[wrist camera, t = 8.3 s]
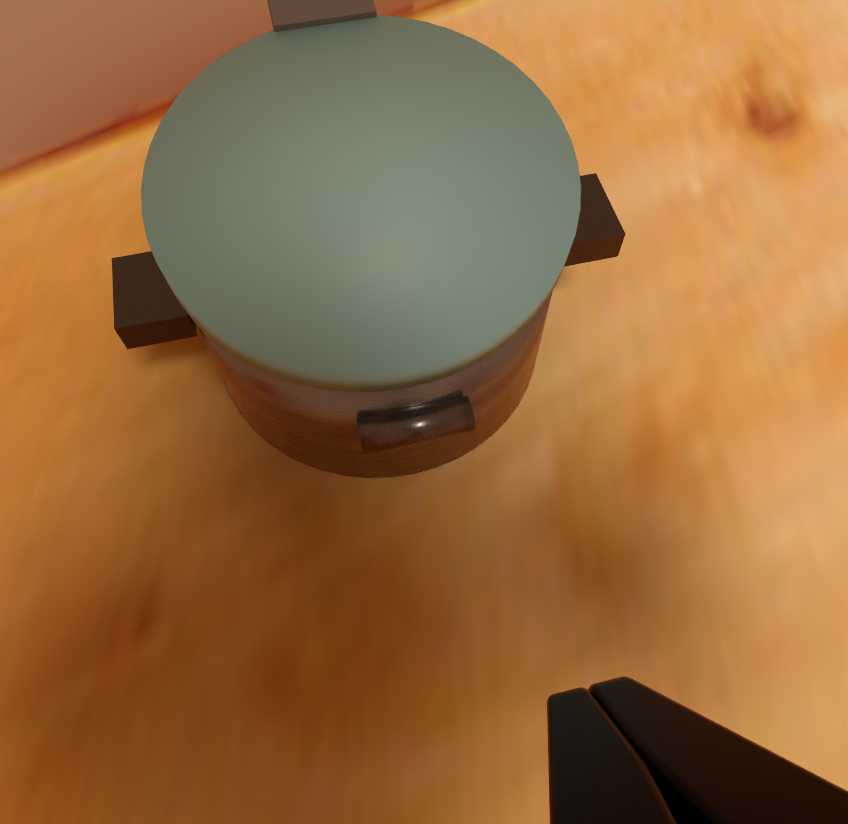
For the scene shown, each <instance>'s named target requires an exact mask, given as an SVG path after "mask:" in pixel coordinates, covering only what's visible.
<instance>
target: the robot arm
mask: <svg viewBox="0 0 848 824" xmlns="http://www.w3.org/2000/svg"><path fill="white" fill-rule="evenodd" d="M547 719H548V763H549V806H550V824H848V791H846V790H844V789H842V788H841V787H839V786H837V785H835V784H833V783H831V782H829V781H827V780H825V779H823V778H821V777H819V776H818V775H816V774H814V773H812V772H810V771H808V770H806V769H804V768H802V767H800V766H798V765H796V764H795V763H793V762H791V761H789V760H787V759H785V758H783V757H781V756H779V755H777V754H775V753H773V752H772V751H770V750H768V749H766V748H764V747H762V746H760V745H758V744H756V743H754V742H752V741H750V740H748V739H747V738H745V737H743V736H741V735H739V734H737V733H735V732H733V731H731V730H729V729H727V728H725V727H724V726H722V725H720V724H718V723H716V722H714V721H712V720H710V719H708V718H706V717H704V716H702V715H701V714H699V713H697V712H695V711H693V710H691V709H689V708H687V707H685V706H683V705H681V704H679V703H677V702H676V701H674V700H672V699H670V698H668V697H666V696H664V695H662V694H660V693H658V692H656V691H654V690H653V689H651V688H649V687H647V686H645V685H643V684H641V683H639V682H637V681H635V680H633V679H631V678H628V677H619V678H615V679H611V680H607V681H603V682H599V683H595V684H593V685H591V686H590V687H589V689H588V690H587V689H585V688H576V689H572V690H568V691H564V692H560V693H556V694H552V695H550V697H549V698H548V700H547Z"/></svg>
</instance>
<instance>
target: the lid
mask: <svg viewBox="0 0 848 824" xmlns="http://www.w3.org/2000/svg"><path fill="white" fill-rule="evenodd" d="M268 5H269V10H270V14H271V19H272V24H273V28H274V30H272V31H270V32H267V33H265V34H262V35H260V36H258V37H255V38H253V39H251V40H249V41H247V42H245V43H243V44H242V45H240V46H238V47H236V48H234V49H232V50H231V51H229V52H227V53H226V54H225V55H223V56H222V57H220V58H219V59H217V60H216V61H215V62H213V63H212V64H210V65H209V66H208V67H207V68H206V69H204V70H203V71H202V72H201V73H200V74H199V75H198V76H197V77H196V78H194V79H193V80H192V81H191V82H190V83H189V84H188V85H187V87H186V88H185V89H184V90H183V91H182V92H181V94H180V95H179V96H178V97H177V98H176V99H175V101H174V102H173V103H172V105H171V107H170V108H169V110H168V111H167V113H166V114H165V116H164V117H163V119H162V120H161V122H160V124H159V127H158V129H157V131H156V133H155V135H154V137H153V140H152V142H151V144H150V148H149V151H148V155H147V158H146V162H145V165H144V172H143V180H142V188H141V197H142V216H143V221H144V226H145V231H146V236H147V240H148V242H149V245H150V247H151V250H152V253H153V255H154V258H155V261H156V263H157V265H158V266H159V268H160V270H161V272H162V273H163V275H164V277H165V279H166V280H167V282H168V284H169V286H170V287H171V289H172V291H173V293H174V294H175V296H176V298H177V300H178V301H179V303H180V305H181V306H182V307H183V308H184V310H185V311H186V312H187V313H188V315H189V316H190V317H191V319H192V320H193V321H194V322H195V324H196V325H197V326H198V327H199V328H200V329H202V330H203V331H204V332H205V333H206V334H207V335H208V336H209V337H210V338H211V339H212V340H213V341H214V342H215V343H217V344H218V345H219V346H221V347H222V348H224V349H225V350H227V351H228V352H229V353H231V354H232V355H234V356H235V357H236V358H238V359H240V360H241V361H243V362H245V363H247V364H249V365H251V366H253V367H255V368H257V369H259V370H261V371H263V372H265V373H267V374H270V375H273V376H276V377H278V378H281V379H284V380H287V381H289V382H292V383H297V384H301V385H305V386H310V387H314V388H319V389H325V390H335V391H345V392H382V391H389V390H396V389H403V388H410V387H415V386H418V385H422V384H426V383H429V382H433V381H437V380H440V379H443V378H445V377H448V376H450V375H453V374H455V373H458V372H460V371H463V370H465V369H467V368H469V367H471V366H473V365H475V364H476V363H478V362H480V361H482V360H483V359H485V358H487V357H489V356H490V355H492V354H493V353H495V352H496V351H497V350H499V349H500V348H501V347H503V346H504V345H505V344H507V343H508V342H509V341H511V340H512V339H513V338H514V337H515V336H516V335H517V334H518V333H520V332H521V331H522V330H523V329H524V328H525V327H526V326H527V325H528V324H529V323H530V322H531V321H532V320H533V318H534V317H535V316H536V314H537V313H538V312H539V310H540V309H541V308H542V306H543V305H544V304H545V302H546V301H547V300H548V298H549V296H550V294H551V292H552V291H553V289H554V287H555V285H556V283H557V281H558V279H559V278H560V275H561V273H562V270H563V267H564V265H565V262H566V260H567V257H568V254H569V251H570V249H571V246H572V243H573V240H574V237H575V235H576V230H577V225H578V220H579V214H580V203H581V183H580V175H579V168H578V162H577V158H576V155H575V151H574V148H573V145H572V141H571V139H570V137H569V135H568V132H567V130H566V128H565V126H564V124H563V122H562V119H561V118H560V116H559V115H558V113H557V112H556V110H555V109H554V107H553V106H552V104H551V102H550V101H549V99H548V98H547V97H546V96H545V95H544V94H543V92H542V91H541V90H540V89H539V88H538V87H537V85H536V84H535V83H534V82H533V81H532V80H531V79H530V78H529V77H528V76H526V75H525V74H524V73H523V72H522V71H521V70H520V69H519V68H518V67H517V66H515V65H514V64H513V63H511V62H510V61H508V60H507V59H506V58H504V57H503V56H501V55H500V54H499V53H497V52H496V51H494V50H492V49H490V48H489V47H487V46H485V45H483V44H481V43H480V42H478V41H476V40H474V39H472V38H470V37H467V36H465V35H462V34H460V33H458V32H455V31H453V30H451V29H447V28H444V27H441V26H437V25H434V24H431V23H428V22H423V21H418V20H413V19H408V18H403V17H394V16H384V15H377V14H376V8H375V5H374V1H373V0H268Z"/></svg>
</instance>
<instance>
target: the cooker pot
mask: <svg viewBox="0 0 848 824" xmlns="http://www.w3.org/2000/svg"><path fill="white" fill-rule="evenodd" d="M580 183H581V203H580V214H579V220H578V225H577V230H576V235H575V237H574V240H573V243H572V246H571V249H570V251H569V254H568V257H567V260H566V262H565V265H564V266H569V265H575V264H580V263H585V262H590V261H596V260H601V259H606V258H612V257H617V256H618V254H619V251H620V248H621V245H622V242H623V239H624V236H625V232H624V230H623V228H622V226H621V224H620V222H619V220H618V218H617V216H616V214H615V212H614V210H613V208H612V206H611V203H610V201H609V199H608V197H607V195H606V193H605V191H604V189H603V187H602V185H601V183H600V181H599V179H598V177H597V175H596V173H595V174H589V175H583V176H580ZM112 274H113V302H114V329H115V331H116V332H117V334H118V335H119V337H120V338H121V340H122V341H123V343H124V345H125V346H126V348H127V349H131V348H136V347H141V346H147V345H152V344H157V343H162V342H168V341H173V340H178V339H184V338H189V337H194V336H197V330H196V324H195V322H194V321H193V320H192V319H191V317H190V316H189V315H188V313H187V312H186V311H185V310H184V308H183V307H182V306H181V305H180V303H179V301H178V300H177V298H176V296H175V294H174V293H173V291H172V289H171V287H170V286H169V284H168V282H167V280H166V279H165V277H164V275H163V273H162V272H161V270H160V268H159V266H158V265H157V263H156V261H155V258H154V255H153V253H152V251H151V252H145V253H139V254H134V255H128V256H122V257H117V258H112ZM551 295H552V292H551V294H550V296H549V298H548V300H547V301H546V302H545V304H544V305H543V306H542V308H541V309H540V310H539V312H538V313H537V314H536V316H535V317H534V318H533V320H532V321H531V322H530V323H529V324H528V325H527V326H526V327H525V328H524V329H523V330H522V331H521V332H520V333H518V334H517V335H516V336H515V337H514V338H513V339H512V340H511V341H509V342H508V343H507V344H505V345H504V346H503V347H501V348H500V349H499V350H497V351H496V352H495V353H493V354H492V355H490V356H489V357H487V358H485V359H483V360H482V361H480V362H478V363H476V364H475V365H473V366H471V367H469V368H467V369H465V370H463V371H460V372H458V373H455V374H453V375H450V376H448V377H445V378H443V379H440V380H437V381H433V382H429V383H426V384H422V385H418V386H415V387H410V388H403V389H396V390H389V391H382V392H345V391H335V390H325V389H319V388H314V387H310V386H305V385H301V384H297V383H292V382H289V381H287V380H284V379H281V378H278V377H276V376H273V375H270V374H267V373H265V372H263V371H261V370H259V369H257V368H255V367H253V366H251V365H249V364H247V363H245V362H243V361H241V360H240V359H238V358H236V357H235V356H234V355H232V354H231V353H229V352H228V351H227V350H225V349H224V348H222V347H221V346H219V345H218V344H217V343H215V342H214V341H213V340H212V339H211V338H210V337H209V336H208V335H207V334H206V333H205V332H204V331H203V330H202V329H200V328H199V329H200V331H201V333H202V335H203V337H204V339H205V341H206V344H207V346H208V348H209V350H210V352H211V354H212V356H213V359H214V361H215V363H216V365H217V367H218V369H219V371H220V374H221V376H222V378H223V380H224V382H225V384H226V386H227V388H228V391H229V393H230V395H231V397H232V399H233V401H234V402H235V404H236V406H237V408H238V409H239V411H240V413H241V414H242V416H243V417H244V418H245V419H246V421H247V422H248V423H249V424H250V426H251V427H252V428H253V429H254V430H255V431H256V432H257V433H258V434H259V435H260V436H261V437H262V438H263V439H264V440H266V441H267V442H268V443H269V444H271V445H272V446H274V447H275V448H276V449H278V450H279V451H281V452H282V453H284V454H285V455H287V456H289V457H291V458H293V459H295V460H297V461H299V462H301V463H303V464H306V465H309V466H311V467H314V468H317V469H320V470H323V471H327V472H331V473H336V474H341V475H345V476H355V477H367V478H375V477H395V476H401V475H408V474H414V473H418V472H421V471H425V470H429V469H432V468H436V467H438V466H441V465H443V464H445V463H448V462H450V461H453V460H455V459H457V458H459V457H461V456H462V455H464V454H466V453H468V452H469V451H471V450H473V449H475V448H476V447H477V446H479V445H480V444H481V443H483V442H484V441H485V440H487V439H488V438H489V437H491V436H492V435H493V434H494V433H495V432H496V431H497V430H498V429H499V428H500V427H501V426H502V425H503V424H504V423H505V422H506V421H507V419H508V418H509V417H510V415H511V414H512V413H513V411H514V410H515V409H516V407H517V406H518V405H519V403H520V401H521V399H522V397H523V395H524V393H525V392H526V390H527V387H528V385H529V382H530V379H531V376H532V373H533V370H534V366H535V362H536V357H537V353H538V349H539V345H540V341H541V337H542V332H543V328H544V324H545V320H546V316H547V312H548V308H549V303H550V299H551Z"/></svg>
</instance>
